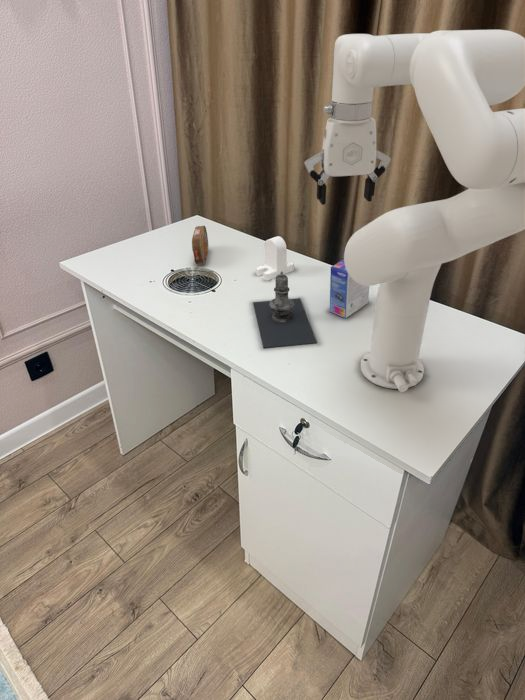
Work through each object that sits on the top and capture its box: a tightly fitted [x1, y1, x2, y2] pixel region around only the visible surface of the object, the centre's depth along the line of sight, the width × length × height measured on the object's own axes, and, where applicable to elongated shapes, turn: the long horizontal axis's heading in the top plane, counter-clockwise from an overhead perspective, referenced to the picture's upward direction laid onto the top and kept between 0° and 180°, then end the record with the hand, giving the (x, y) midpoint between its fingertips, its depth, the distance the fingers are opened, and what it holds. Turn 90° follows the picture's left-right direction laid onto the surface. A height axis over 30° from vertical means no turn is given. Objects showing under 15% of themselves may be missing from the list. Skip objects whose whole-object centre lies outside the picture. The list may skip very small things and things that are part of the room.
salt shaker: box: [269, 271, 294, 322], centre depth 119 cm, size 6×6×12 cm
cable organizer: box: [255, 235, 295, 281], centre depth 139 cm, size 5×10×10 cm, turn 128°
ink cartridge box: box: [329, 252, 371, 319], centre depth 121 cm, size 10×6×14 cm, turn 137°
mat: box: [252, 297, 318, 349], centre depth 121 cm, size 20×12×1 cm, turn 7°
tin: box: [191, 225, 209, 265], centre depth 148 cm, size 15×3×8 cm, turn 179°
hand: (344, 200), depth 106 cm, fingers open, 9 cm apart
